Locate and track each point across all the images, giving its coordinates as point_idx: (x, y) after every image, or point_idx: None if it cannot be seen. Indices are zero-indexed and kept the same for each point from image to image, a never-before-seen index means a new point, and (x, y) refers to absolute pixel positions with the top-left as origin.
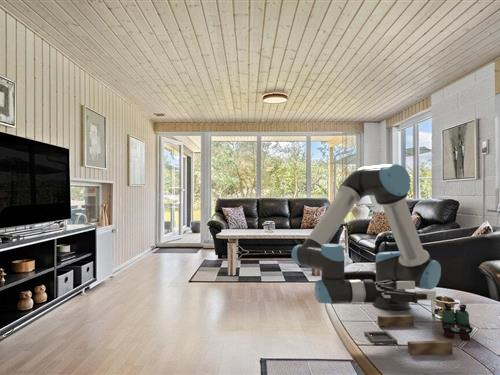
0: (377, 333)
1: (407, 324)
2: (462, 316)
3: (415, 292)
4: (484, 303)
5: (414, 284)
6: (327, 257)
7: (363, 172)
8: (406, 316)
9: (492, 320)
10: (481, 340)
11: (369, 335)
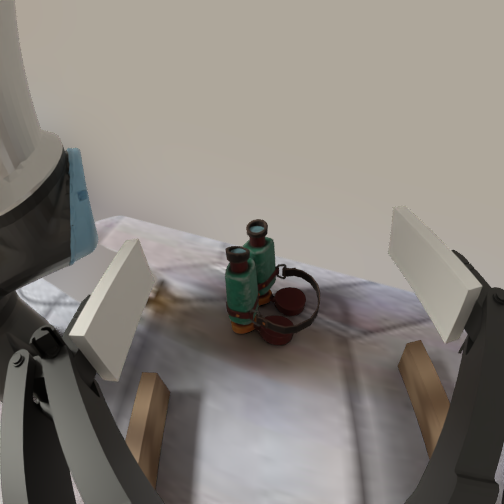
0: None
1: (164, 411)
2: (268, 257)
3: (476, 291)
4: (116, 224)
5: (144, 258)
6: None
7: None
8: (151, 399)
9: (186, 235)
10: (296, 280)
11: None
